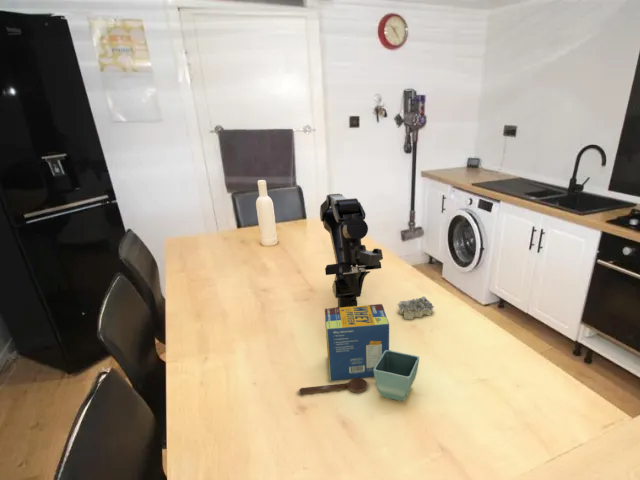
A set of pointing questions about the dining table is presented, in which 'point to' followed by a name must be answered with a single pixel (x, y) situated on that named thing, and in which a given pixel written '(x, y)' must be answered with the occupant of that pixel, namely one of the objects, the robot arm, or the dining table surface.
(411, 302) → the egg carton
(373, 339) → the protein box
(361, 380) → the wooden spoon
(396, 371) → the flower pot
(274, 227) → the bottle
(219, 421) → the dining table surface
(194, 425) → the dining table surface
